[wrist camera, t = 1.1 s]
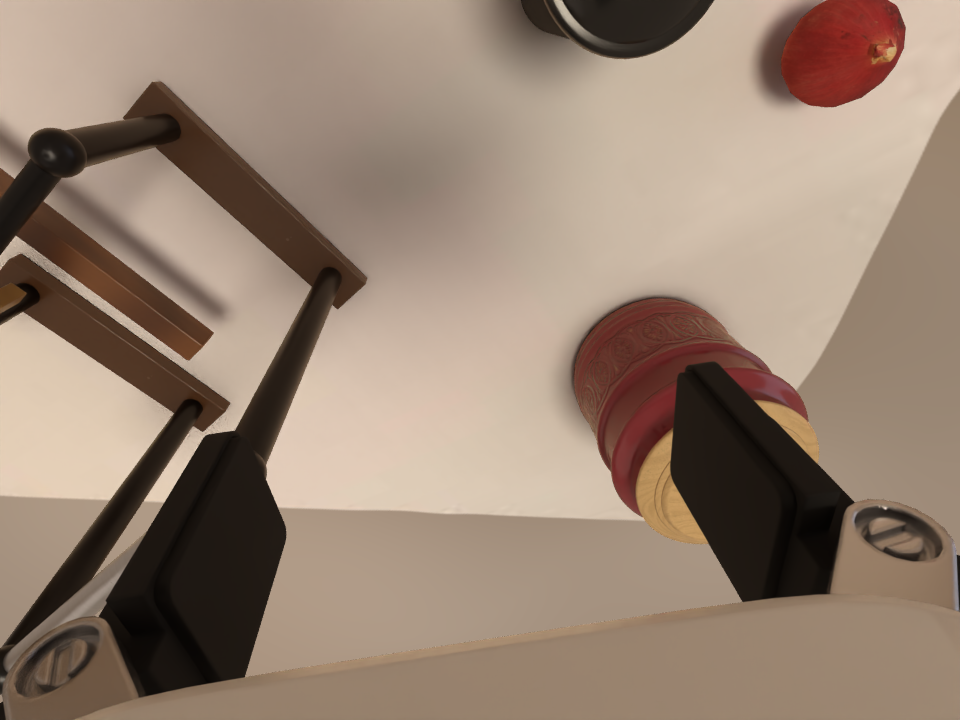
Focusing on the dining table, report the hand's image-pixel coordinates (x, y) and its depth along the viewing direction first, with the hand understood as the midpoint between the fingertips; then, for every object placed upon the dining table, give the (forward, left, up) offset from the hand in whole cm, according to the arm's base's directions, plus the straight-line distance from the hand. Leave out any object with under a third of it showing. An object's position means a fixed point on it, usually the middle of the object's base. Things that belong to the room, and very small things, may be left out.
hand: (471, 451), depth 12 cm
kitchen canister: (+22, +3, -29) cm, 36 cm away
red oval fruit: (+9, +23, -29) cm, 38 cm away
